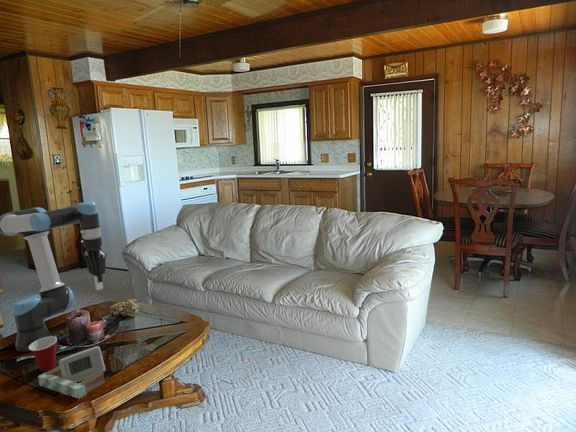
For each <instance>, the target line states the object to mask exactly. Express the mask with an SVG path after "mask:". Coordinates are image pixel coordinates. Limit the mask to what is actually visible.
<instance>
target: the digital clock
mask: <svg viewBox="0 0 576 432" xmlns="http://www.w3.org/2000/svg"><path fill="white" fill-rule="evenodd" d="M58 366H60V370H61V374H62V378H64V379H67V380H70V381H73V382H76V383H77V382H79V383H80V381H81V382H82V381H83V380H85V379H87V378H88V377H90V376H92V375H93V374H95V373H97V372H102V373H104V372H106V366H105V362H104V358H103V354H102V350H101V348H100V346H98V345H97V346H93V347H91V348H87V349H84V350H81V351H78V352H75V353H72V354H70V355H68V356H66V357H63V358H61V359H59V360H58Z"/></svg>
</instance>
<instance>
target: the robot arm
mask: <svg viewBox="0 0 576 432" xmlns="http://www.w3.org/2000/svg"><path fill="white" fill-rule="evenodd" d="M97 207H98V206H97V203H96V202H94V201H85V202H80V203H78V204H77V206H76V205H67V206H65V207H63V208H57V209H53V210H46V209H45V208H43V207H30V208H25V209H20V210H19V209H18V210H15V211H10V212H9V211H8V212H5V213H4V214H2V215H0V234H1V235H2V236H6V237H7V236H8V237H15V236H21V235H22V239H24V240H26V241H27V243H28V245H29V249H30V252H31V256H32V259H33V262H34V267H35V269H36V273H37V276H38V280H39V283H40V286H41V288H40V289H39V294H38V293H31V294H27V295H25V296H22V297H20V298H18V299H17V300H16V301H14V303H13V305H12V314H13V316H14V317H13V318H14V321H15V322H14V323H15V326H16V332H17V333H16V338H15V350H16V351H18V352H22V353H24V352H32V351H31V350H30V349H29V345H30V344H31V343H33V342H35V341H36V340H39V339H41V338H45V337H51V336H52V334H51V332H50V331H49V329H48V328H47V326H46V323H45V320H46V319H49V318H51V317H53V316H56V315H59V314H62V313H65V312H66V311H69V310H70V309H71V308H72V307H73V305H74V301H75V296H74V292H73V290H72V289H71V288H70V287H69V286H66V284H65V283H64V282H62V281H61V278H60V275H59V272H58V269H57V265H56V262H55V259H54V255H53V251H52V249H51V245H50V241H49V239H48V235H49V234H50V230H51V229H54V228H55V229H56V228H61V227H65V226H69V225H73V224H79V225H80V231H81V236H82V237H81V238H82V244H83V245H82V246H83V248H85V251H83V252H82V256H83V259H84V260H85V263H86V266H87V270H88V273H89V274H91V275H92V276H93V281H94V287H95V290H96V291H100V290H103V289H104V284H103V275H104V274H106V258H107V253H106V252H105V253H104V252H103V250H102V248H101V246H102V245H103V241H102V240H103V239H102V237H101V236H102V233H101V227H100V219H99V210H98V208H97Z"/></svg>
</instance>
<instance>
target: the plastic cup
mask: <svg viewBox="0 0 576 432" xmlns="http://www.w3.org/2000/svg"><path fill="white" fill-rule="evenodd" d="M57 340H58V338H57V337H56V336H53V335H51V337H45V338H41V339H39V340H36V341H35V342H33V343H31V344H30V345H29V349H30V350H31V351H30V352H32V354H33V357H34V359H35V361H36V363H37V366H38V368H39V370H40V371H41V372H48V371H50V370H52V369H54V368H56V361H57V360H56V359H57V354H56V353H57Z"/></svg>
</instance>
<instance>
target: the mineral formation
mask: <svg viewBox="0 0 576 432" xmlns="http://www.w3.org/2000/svg"><path fill="white" fill-rule="evenodd" d="M136 302H137V299H136V298H133V299H128V300H127V301H121V302H118V303H115V304H113V305H111V306H110V307H109V308H110V309H111V313H112V314H113V315H114V316H117V315H119V314H120V315H122V316H123V317H126V316H128V317H132V318H133V317H135V315H136V314H138V312H139V311H140V310H139V309H140V307H139V306H140V305H141V304H140V302H138V303H136Z"/></svg>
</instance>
